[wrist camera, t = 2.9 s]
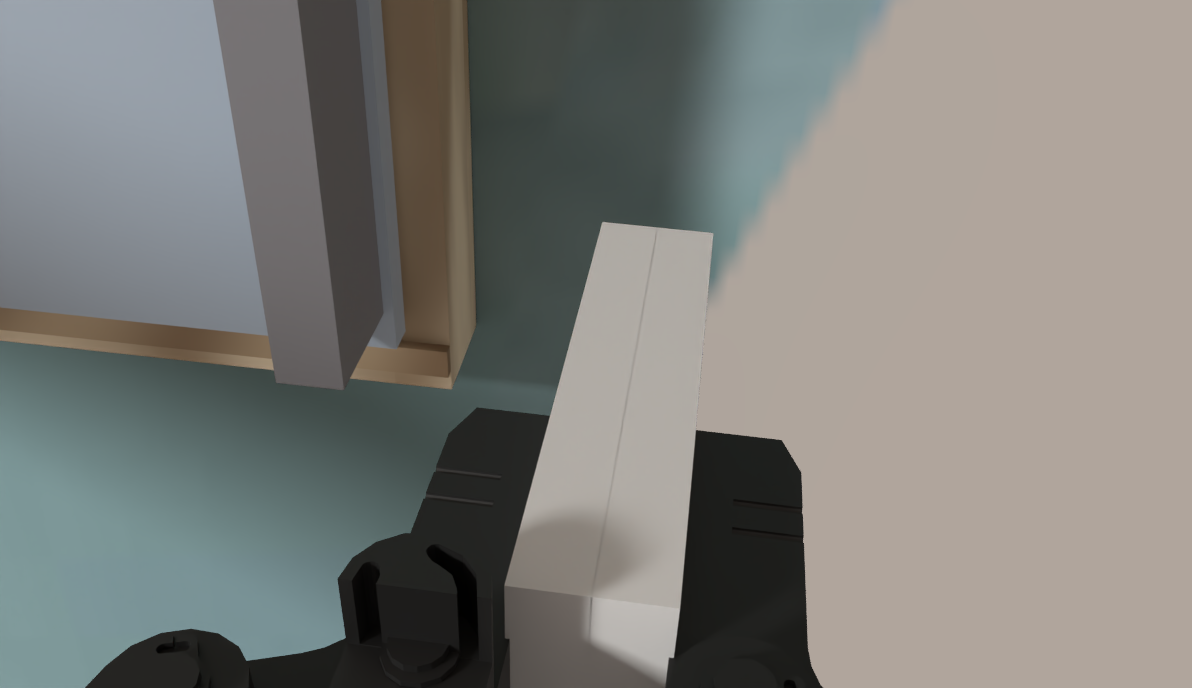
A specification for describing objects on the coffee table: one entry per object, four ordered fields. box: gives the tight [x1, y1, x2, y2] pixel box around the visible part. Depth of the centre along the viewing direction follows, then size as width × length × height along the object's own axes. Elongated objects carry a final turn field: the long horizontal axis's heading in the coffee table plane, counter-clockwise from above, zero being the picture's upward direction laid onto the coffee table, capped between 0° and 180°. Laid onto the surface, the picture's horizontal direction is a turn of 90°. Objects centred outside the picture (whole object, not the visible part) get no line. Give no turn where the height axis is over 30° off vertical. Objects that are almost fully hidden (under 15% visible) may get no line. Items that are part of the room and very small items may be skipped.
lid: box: [0, 0, 406, 390], centre depth 21 cm, size 14×14×4 cm
